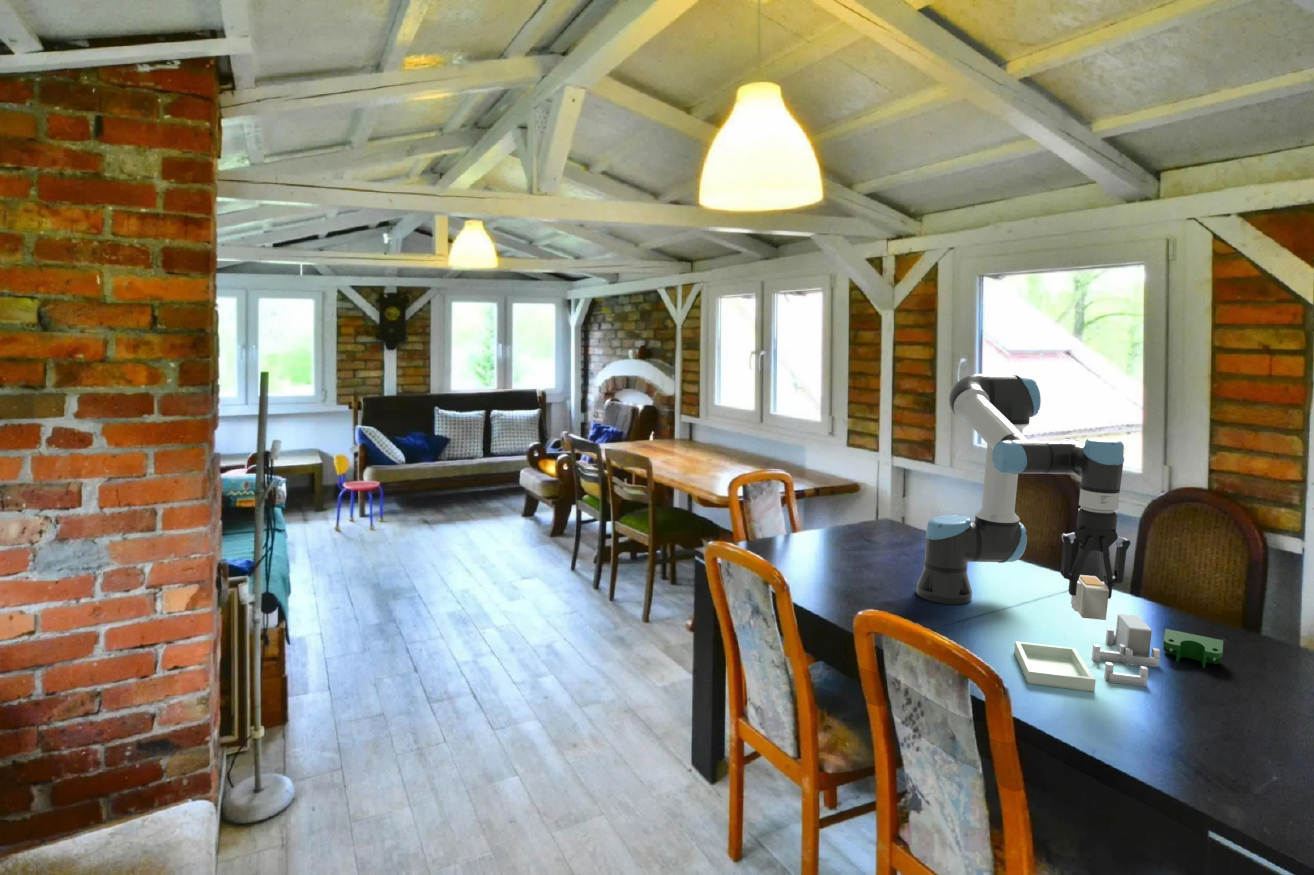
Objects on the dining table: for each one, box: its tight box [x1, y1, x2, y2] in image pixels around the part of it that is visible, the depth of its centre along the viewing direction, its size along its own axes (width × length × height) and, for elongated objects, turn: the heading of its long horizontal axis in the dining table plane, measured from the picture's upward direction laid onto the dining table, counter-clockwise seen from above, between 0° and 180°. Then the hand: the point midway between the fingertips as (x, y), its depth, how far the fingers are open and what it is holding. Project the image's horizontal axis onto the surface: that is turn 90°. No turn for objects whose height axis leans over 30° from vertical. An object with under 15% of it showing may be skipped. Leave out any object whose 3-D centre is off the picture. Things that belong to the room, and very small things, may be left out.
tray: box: [1013, 640, 1096, 693], centre depth 170 cm, size 13×17×3 cm
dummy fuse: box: [1114, 613, 1153, 656], centre depth 179 cm, size 5×9×8 cm, turn 164°
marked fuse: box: [1070, 574, 1109, 621], centre depth 168 cm, size 5×9×7 cm, turn 166°
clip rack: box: [1091, 628, 1161, 688], centre depth 175 cm, size 14×26×4 cm, turn 164°
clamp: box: [1162, 628, 1224, 669], centre depth 176 cm, size 12×6×9 cm, turn 46°
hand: (1088, 610), depth 168 cm, fingers closed on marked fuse, 4 cm apart
